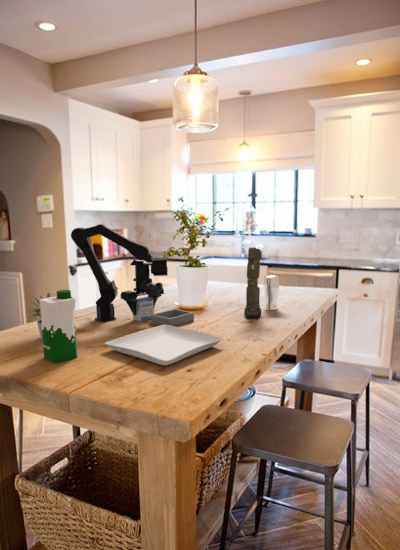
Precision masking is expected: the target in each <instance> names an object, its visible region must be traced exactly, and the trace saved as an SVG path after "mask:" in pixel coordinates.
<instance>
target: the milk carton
mask: <svg viewBox="0 0 400 550" xmlns="http://www.w3.org/2000/svg"><path fill="white" fill-rule="evenodd" d="M56 296H57V297H56ZM56 296H54V297H53V296H52V297H51V296H50V297H48V298H47V297H45V298H43V299H41V298H39V299H38V300H39V302H40V305H39V306H40V308H39V309H40V310H41V313H40V315H41V316H40V318H41V319H40V320H41V321H42V337H43V340H42V348H43V358H45V360H48V361H49V362H51V363H53V364H57V363H61V362H65V361H69V360H73V359H77V358H78V352H77V351H78V350H77V334H76V317H75V316H76V314H75V312H76V311H75V310H76V301H77V300H76V299H77V298H74V297H73V296H72V291H71V290H69V289H61V290H57V291H56Z"/></svg>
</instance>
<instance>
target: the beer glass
mask: <svg viewBox="0 0 400 550" xmlns="http://www.w3.org/2000/svg"><path fill="white" fill-rule="evenodd" d="M279 291H280V276H279V275H275V274H274V275H271V274H270V275H269V274H268V275H264V278H263V292H264V301H265V302H264V308H263V309H264V310H267V311H276V310H278V308H279V307H278V297H279Z"/></svg>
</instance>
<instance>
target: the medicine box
mask: <svg viewBox="0 0 400 550" xmlns="http://www.w3.org/2000/svg"><path fill="white" fill-rule="evenodd" d="M136 300H138V301H137V302H136V316H134V315H133V314H132V319H133V321H136V322H144V321H147V320H151V315H152V314H155V311H154V310H155V307H154V304H153V298H152V297H148V296H145V297H140V298H136Z"/></svg>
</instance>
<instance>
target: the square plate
mask: <svg viewBox="0 0 400 550" xmlns="http://www.w3.org/2000/svg"><path fill="white" fill-rule="evenodd" d="M222 340H224V337H222V336H218V335H214V334H211V333H206V332H202V331H198V330H195V329H194V330H193V329H190V328H184V327H180V326H170V325H161V326H159V325H156V326H155V327H151V328H146V329H142V330H140V331H136V332H133V333H130V334H126V335H124V336H121V337H118V338H115V339H111V340H108V341H106V342H104V345H106V346H107V347H108V348H109V349H111V350H113V351H115V352H118V353H121V354H125V355H128V356H132V357H136V358H139V359H142V360H145V361H148V362H151V363H154V364H157V365H160V366H169V365H172V364H174V363H176V362H179V361H181V360H183V359H185V358H188V357H191V356H193V355H195V354H198V353H201V352H202V351H205V350H209V349H210V348H212V347H215V346H216V345H218V344H219V343H220V342H221V341H222Z"/></svg>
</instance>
